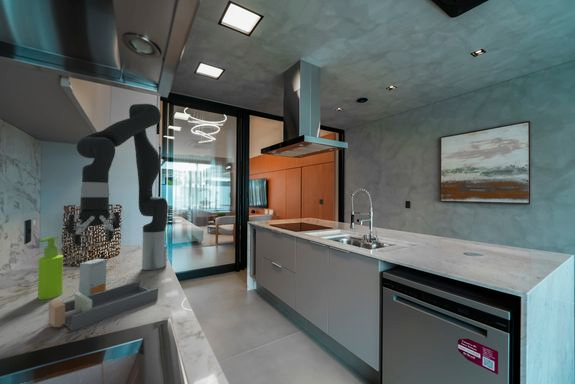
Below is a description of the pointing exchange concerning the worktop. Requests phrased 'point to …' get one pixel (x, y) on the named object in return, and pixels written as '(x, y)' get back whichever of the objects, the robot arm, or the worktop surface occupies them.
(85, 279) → the skincare box
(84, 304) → the pusher
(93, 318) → the pusher lane
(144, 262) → the robot arm
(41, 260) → the soap dispenser
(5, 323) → the worktop surface
